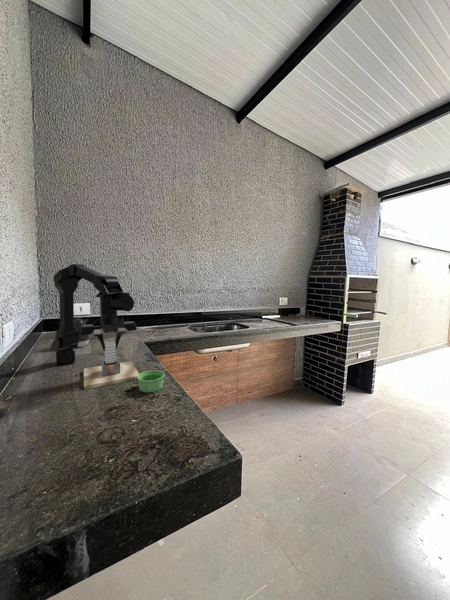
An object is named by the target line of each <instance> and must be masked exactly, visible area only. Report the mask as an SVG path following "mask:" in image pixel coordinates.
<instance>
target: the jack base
mask: <svg viewBox="0 0 450 600" xmlns="http://www.w3.org/2000/svg"><path fill="white" fill-rule="evenodd" d="M100 361H101V360H100ZM139 374H140V373H139V372H138V370H137V367H135V365H134V363H133V361H131V360H129V361H124V362H120V360H119V359H118V358H116V362H115V363H108V364H106V363H105V360H102V361H101V365H97V366H92V367H91V366H90V367H85V368H83V390H88V389H93V388H94V389H95V388H100V387H103V386H110V385H115V384H121V383H124V382H130V381H131V382H132V381H136V380H137V376H138V375H139Z"/></svg>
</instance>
